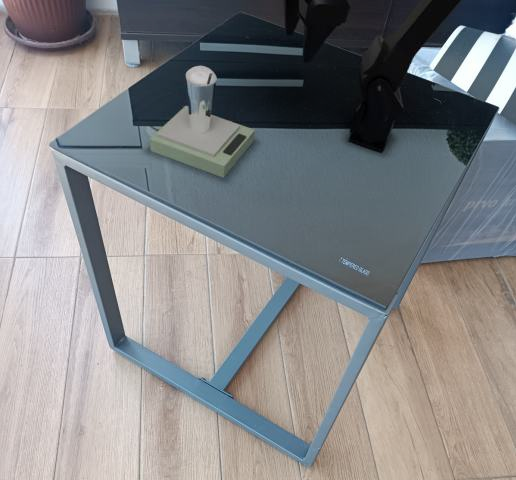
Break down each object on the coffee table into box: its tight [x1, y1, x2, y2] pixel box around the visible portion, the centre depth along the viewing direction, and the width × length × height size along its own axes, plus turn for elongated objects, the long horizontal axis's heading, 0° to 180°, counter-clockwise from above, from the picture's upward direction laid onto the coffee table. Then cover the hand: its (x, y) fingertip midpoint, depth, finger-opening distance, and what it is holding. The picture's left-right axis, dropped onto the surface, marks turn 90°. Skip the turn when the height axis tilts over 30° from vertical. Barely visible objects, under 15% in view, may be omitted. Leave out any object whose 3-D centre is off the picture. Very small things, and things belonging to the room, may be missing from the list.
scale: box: [149, 105, 256, 179], centre depth 81 cm, size 13×12×3 cm
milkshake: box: [185, 65, 218, 133], centre depth 76 cm, size 5×5×10 cm
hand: (297, 48), depth 78 cm, fingers open, 9 cm apart
